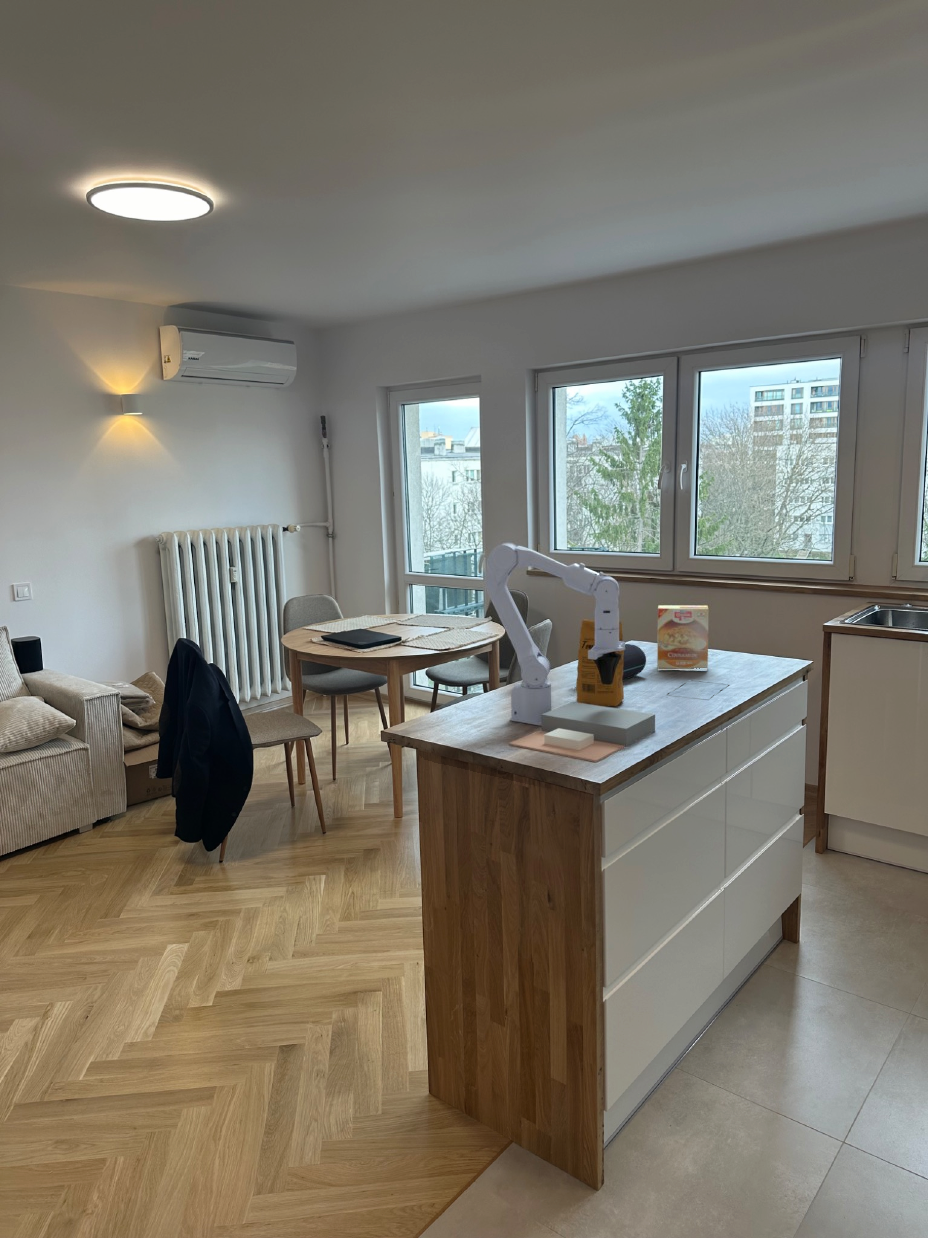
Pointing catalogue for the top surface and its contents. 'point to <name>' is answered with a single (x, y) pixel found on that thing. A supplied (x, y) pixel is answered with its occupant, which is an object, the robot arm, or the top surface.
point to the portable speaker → (632, 661)
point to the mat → (588, 753)
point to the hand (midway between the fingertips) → (607, 683)
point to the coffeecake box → (682, 637)
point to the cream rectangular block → (569, 739)
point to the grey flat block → (600, 722)
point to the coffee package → (596, 672)
